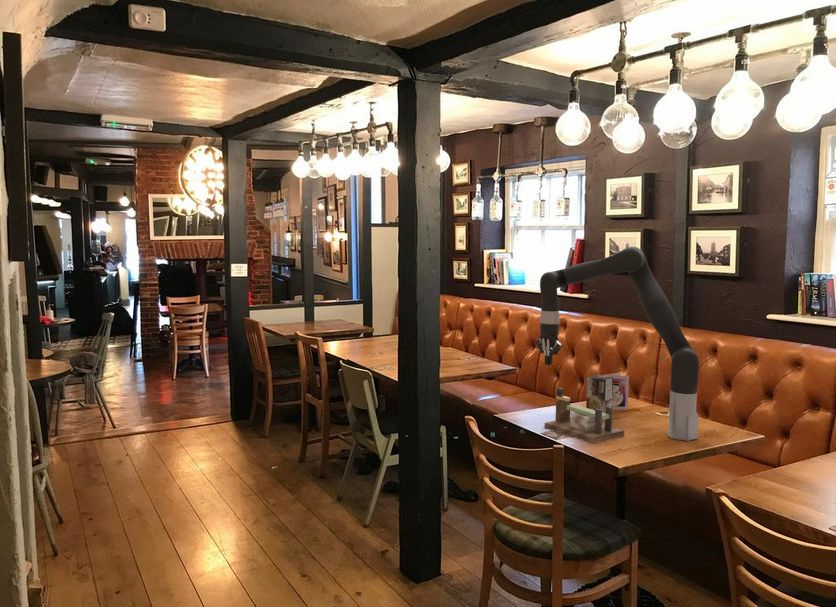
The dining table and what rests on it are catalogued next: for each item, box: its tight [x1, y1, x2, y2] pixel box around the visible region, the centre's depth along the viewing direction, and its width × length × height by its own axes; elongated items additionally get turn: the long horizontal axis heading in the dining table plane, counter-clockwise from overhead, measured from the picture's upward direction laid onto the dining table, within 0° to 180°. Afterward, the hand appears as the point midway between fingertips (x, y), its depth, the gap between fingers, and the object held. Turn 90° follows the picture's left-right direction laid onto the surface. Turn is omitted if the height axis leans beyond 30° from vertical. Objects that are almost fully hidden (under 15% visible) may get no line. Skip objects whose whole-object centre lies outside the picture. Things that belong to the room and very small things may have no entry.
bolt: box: [555, 387, 571, 401], centre depth 260 cm, size 6×2×4 cm, turn 36°
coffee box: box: [585, 374, 613, 413], centre depth 277 cm, size 9×6×16 cm
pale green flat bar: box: [567, 403, 609, 421], centre depth 250 cm, size 17×4×2 cm, turn 36°
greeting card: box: [601, 372, 630, 411], centre depth 288 cm, size 11×7×15 cm, turn 86°
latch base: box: [544, 399, 625, 444], centre depth 252 cm, size 24×17×11 cm
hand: (548, 365), depth 266 cm, fingers closed
